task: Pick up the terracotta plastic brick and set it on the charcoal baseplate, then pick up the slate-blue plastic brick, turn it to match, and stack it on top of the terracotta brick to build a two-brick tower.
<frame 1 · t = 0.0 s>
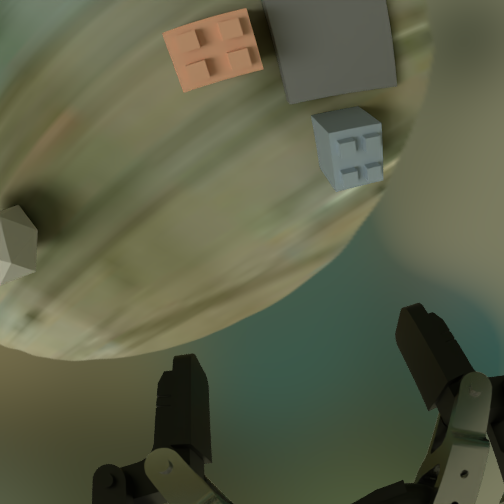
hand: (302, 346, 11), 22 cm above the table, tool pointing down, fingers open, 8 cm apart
baseplate: (325, 2, 20), on the table
brick slate: (338, 136, 29), on the table
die: (20, 222, 30), on the table
brick terracotta: (212, 45, 22), on the table
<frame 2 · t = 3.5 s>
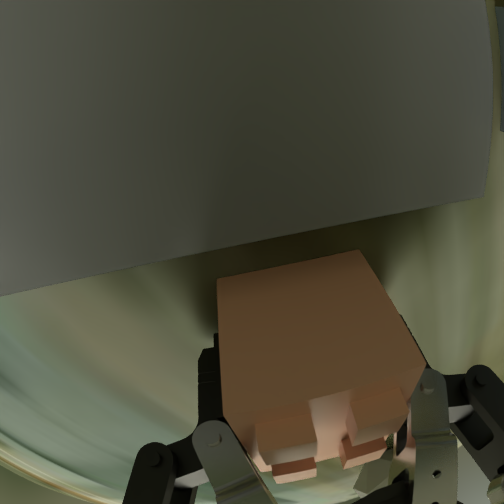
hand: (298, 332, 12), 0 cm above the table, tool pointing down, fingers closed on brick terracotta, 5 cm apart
baseplate: (169, 42, 6), on the table
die: (383, 452, 29), on the table
brick terracotta: (296, 322, 12), on the table, touching gripper
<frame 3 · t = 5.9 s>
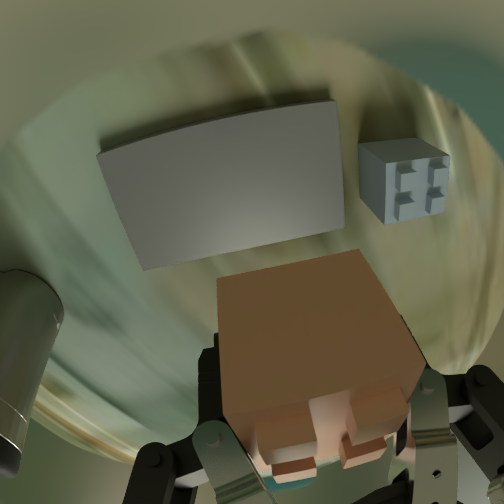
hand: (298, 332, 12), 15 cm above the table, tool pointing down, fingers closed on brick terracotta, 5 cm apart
baseplate: (227, 184, 24), on the table
brick slate: (388, 166, 25), on the table
brick terracotta: (296, 322, 12), point 15 cm above the table, touching gripper
when the fingers open (3 cm above the table, at t = 8.6 s): brick terracotta drops 1 cm, resting on baseplate.
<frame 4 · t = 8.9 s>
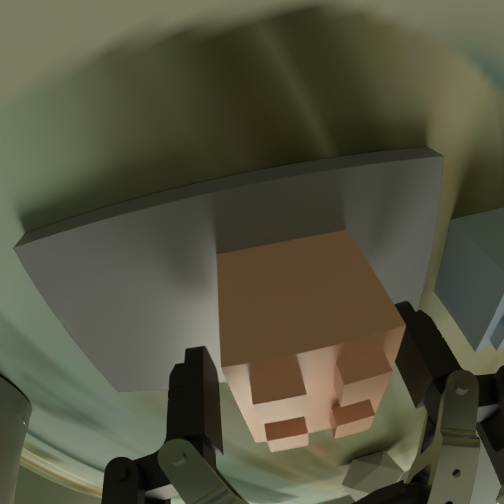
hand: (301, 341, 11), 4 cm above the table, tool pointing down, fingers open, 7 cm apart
baseplate: (241, 290, 14), on the table
brick slate: (477, 246, 15), on the table
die: (365, 456, 37), on the table
brick terracotta: (289, 299, 13), point 1 cm above the table, touching baseplate
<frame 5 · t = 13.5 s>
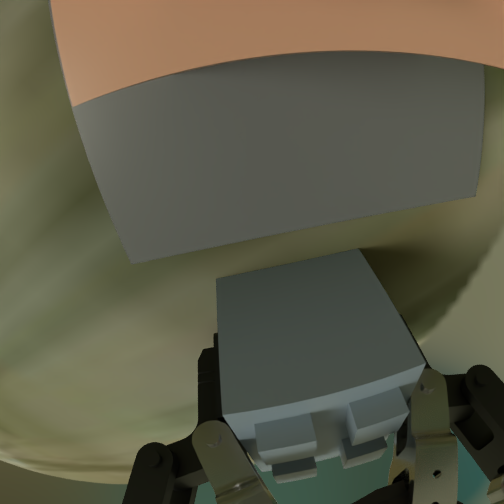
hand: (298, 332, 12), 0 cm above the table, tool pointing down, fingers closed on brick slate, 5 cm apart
brick slate: (296, 322, 12), on the table, touching gripper
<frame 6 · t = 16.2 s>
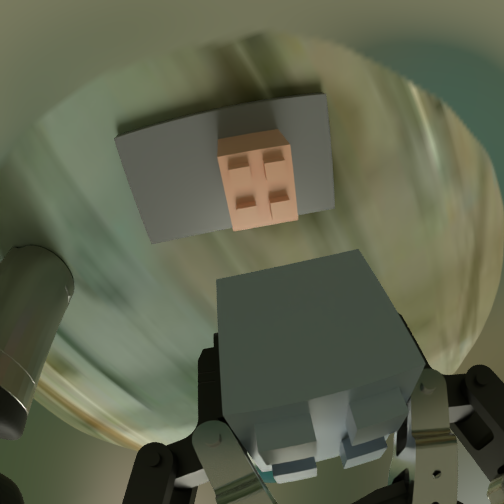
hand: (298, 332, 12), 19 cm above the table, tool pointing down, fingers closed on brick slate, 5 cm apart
baseplate: (229, 166, 27), on the table
brick slate: (296, 322, 12), point 18 cm above the table, touching gripper
brick terracotta: (253, 166, 26), point 1 cm above the table, touching baseplate
when the fingers open (8 cm above the table, at t = 19.3 s): brick slate stays where it is, resting on brick terracotta.
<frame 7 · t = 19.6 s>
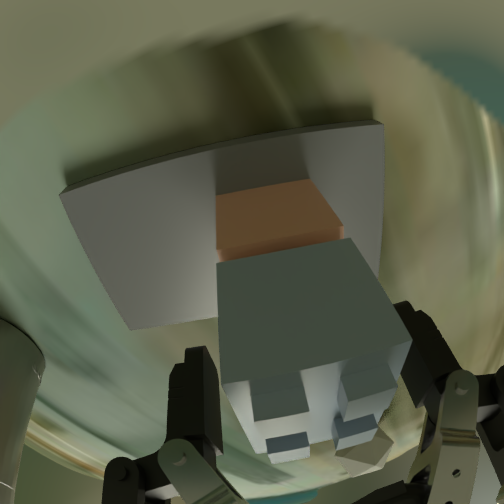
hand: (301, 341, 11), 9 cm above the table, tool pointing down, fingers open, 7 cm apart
baseplate: (234, 231, 19), on the table
brick slate: (291, 308, 13), point 7 cm above the table, touching brick terracotta
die: (357, 428, 41), on the table
brick terracotta: (270, 235, 18), point 1 cm above the table, touching baseplate, brick slate
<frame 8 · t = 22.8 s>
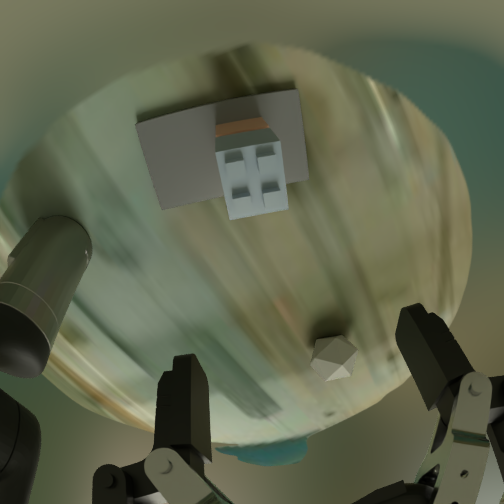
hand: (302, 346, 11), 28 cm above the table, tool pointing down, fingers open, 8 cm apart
baseplate: (224, 147, 34), on the table
brick slate: (247, 162, 28), point 7 cm above the table, touching brick terracotta
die: (328, 341, 57), on the table
brick terracotta: (243, 146, 33), point 1 cm above the table, touching baseplate, brick slate
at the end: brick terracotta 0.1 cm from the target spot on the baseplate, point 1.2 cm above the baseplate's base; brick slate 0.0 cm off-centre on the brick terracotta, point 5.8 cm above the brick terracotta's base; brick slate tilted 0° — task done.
